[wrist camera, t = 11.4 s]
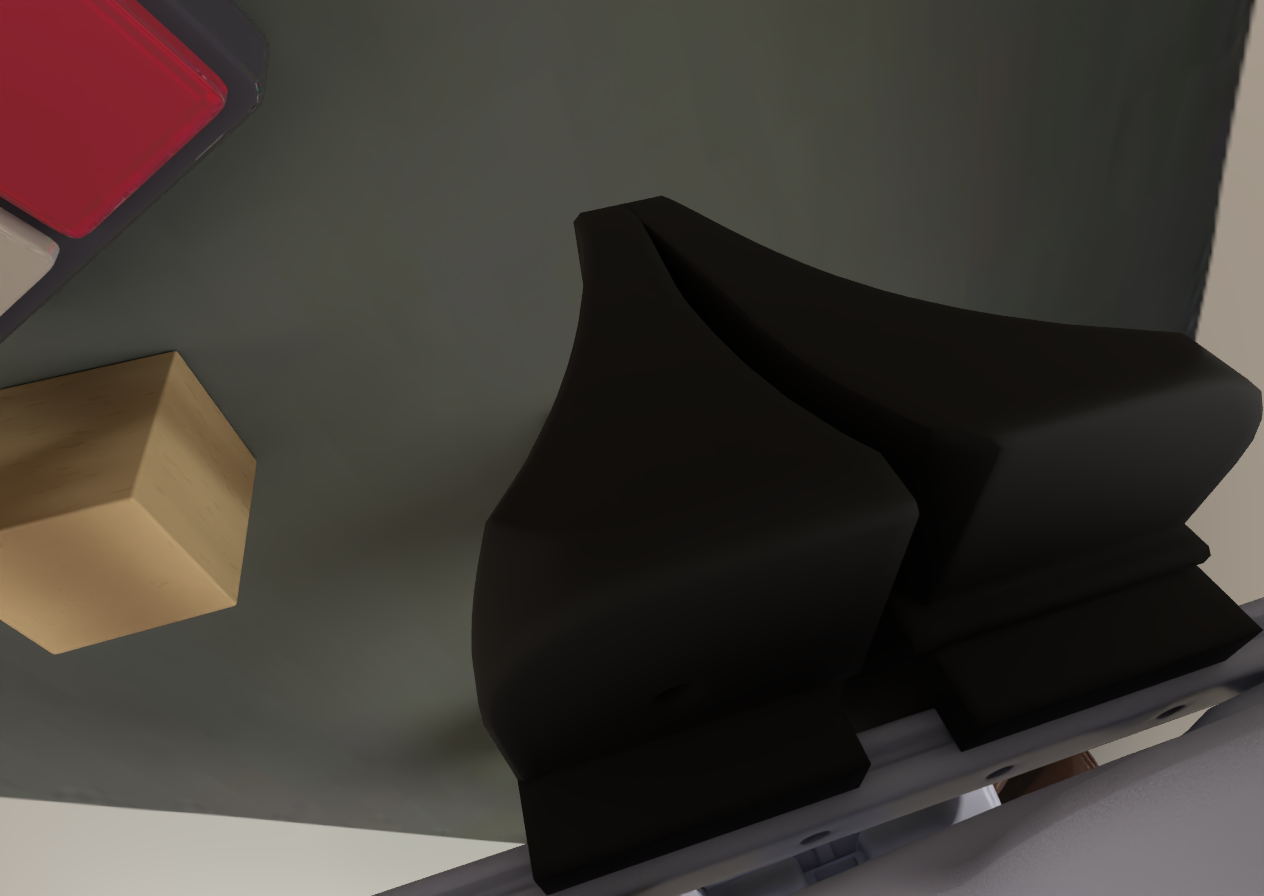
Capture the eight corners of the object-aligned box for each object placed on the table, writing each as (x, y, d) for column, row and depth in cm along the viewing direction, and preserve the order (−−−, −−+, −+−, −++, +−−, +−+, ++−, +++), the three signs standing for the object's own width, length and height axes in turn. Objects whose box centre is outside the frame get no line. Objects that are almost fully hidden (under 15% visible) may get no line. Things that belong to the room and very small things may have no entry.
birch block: (177, 349, 20) (132, 498, 16) (258, 461, 24) (237, 606, 20) (-6, 389, 19) (-101, 555, 15) (106, 498, 23) (53, 656, 19)
